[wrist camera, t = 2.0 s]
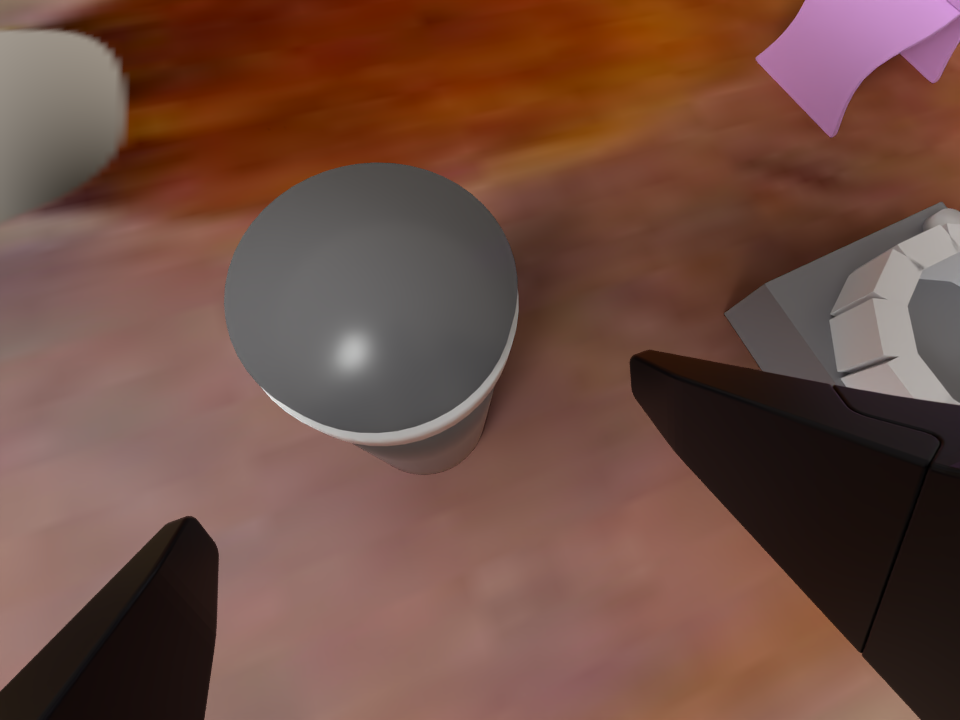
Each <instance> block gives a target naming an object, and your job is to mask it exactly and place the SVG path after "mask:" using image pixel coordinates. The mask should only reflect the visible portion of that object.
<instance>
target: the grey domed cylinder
mask: <svg viewBox="0 0 960 720" xmlns="http://www.w3.org/2000/svg"><path fill="white" fill-rule="evenodd" d="M224 307H225V317H226V324H227V328H228V332H229V336H230V339H231V342H232V344H233V346H234V349H235V351H236V353H237V356H238V357H239V359H240V360H241V362H242V364H243V365H244V367H245V368H246V370H247V372H248V373H249V374H250V375H251V376H252V377H253V379H254V380H255V381H256V382H257V383H258V384H259V386H261V388H262V389H263V390H264V391H265V392H266V393H267V395H268V396H269V397H270V398H271V399H272V400H273V401H274V402H275V403H276V404H277V405H279V406H280V407H281V408H282V409H283V410H284V411H286V412H287V413H289V414H290V415H292V416H293V417H295V418H296V419H298V420H300V421H301V422H303V423H305V424H307V425H309V426H311V427H312V428H314V429H316V430H318V431H320V432H322V433H325V434H327V435H329V436H331V437H334V438H336V439H340V440H343V441H346V442H350V443H352V444H354V445H356V446H358V447H360V448H361V449H363V450H365V451H367V452H368V453H370V454H372V455H374V456H376V457H377V458H379V459H381V460H383V461H384V462H386V463H388V464H390V465H391V466H393V467H395V468H397V469H399V470H402V471H404V472H408V473H412V474H418V475H428V474H436V473H440V472H443V471H446V470H448V469H451V468H452V467H454V466H456V465H458V464H459V463H460V462H462V461H463V460H464V459H465V458H466V457H467V456H468V455H469V454H470V453H471V452H472V451H473V449H474V448H475V446H476V445H477V443H478V441H479V439H480V437H481V434H482V431H483V428H484V424H485V420H486V417H487V413H488V409H489V406H490V402H491V399H492V395H493V391H494V388H495V384H496V382H497V381H498V379H499V377H500V376H501V373H502V371H503V369H504V367H505V364H506V362H507V359H508V356H509V352H510V349H511V346H512V343H513V339H514V335H515V332H516V328H517V320H518V313H519V302H518V289H517V273H516V266H515V261H514V257H513V254H512V251H511V248H510V245H509V243H508V241H507V238H506V236H505V234H504V232H503V230H502V229H501V227H500V226H499V224H498V222H497V221H496V219H495V218H494V217H493V215H492V214H491V213H490V212H489V211H488V210H487V208H486V207H485V206H484V205H483V204H482V203H481V202H480V201H479V200H478V199H476V198H475V197H474V196H473V195H472V194H471V193H469V192H468V191H467V190H465V189H464V188H462V187H461V186H459V185H458V184H456V183H454V182H452V181H451V180H449V179H447V178H445V177H443V176H441V175H438V174H435V173H433V172H430V171H428V170H424V169H420V168H417V167H413V166H408V165H401V164H394V163H364V164H355V165H349V166H344V167H339V168H336V169H332V170H329V171H325V172H323V173H320V174H318V175H315V176H313V177H310V178H308V179H306V180H304V181H302V182H301V183H299V184H297V185H295V186H293V187H291V188H290V189H289V190H287V191H286V192H284V193H283V194H281V195H280V196H279V197H277V198H276V199H275V200H274V201H273V202H272V203H270V204H269V205H268V206H267V207H266V208H265V209H264V210H263V211H262V212H261V213H260V214H259V215H258V217H257V218H256V219H255V220H254V221H253V222H252V224H251V225H250V227H249V228H248V229H247V231H246V232H245V234H244V235H243V237H242V239H241V241H240V243H239V245H238V246H237V248H236V250H235V252H234V255H233V258H232V261H231V264H230V266H229V269H228V274H227V279H226V284H225V298H224Z"/></svg>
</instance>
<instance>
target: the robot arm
mask: <svg viewBox="0 0 960 720" xmlns="http://www.w3.org/2000/svg"><path fill="white" fill-rule="evenodd" d="M630 374H631V387H632V392H633V395H634V397H635V399H636V400H637V401H638V403H639V404H640V406H641V407H642V408H643V410H644V411H645V412H646V414H647V415H648V416H649V418H650V419H651V421H652V422H653V423H654V425H655V426H656V427H657V429H658V430H659V431H660V433H661V434H662V436H663V437H664V438H665V440H666V441H667V442H668V444H669V445H670V446H671V448H672V449H673V450H674V451H675V453H676V454H677V455H678V456H679V457H680V458H681V459H682V461H683V462H684V463H685V464H686V465H687V466H688V467H689V468H690V469H691V470H692V471H693V472H694V474H695V475H696V476H697V477H698V478H699V479H700V480H701V481H702V482H703V483H704V484H705V485H706V487H707V488H708V489H709V490H710V491H711V492H712V493H713V494H714V495H715V496H716V497H717V499H718V500H719V501H720V502H721V503H722V504H723V505H724V506H725V507H726V508H727V509H728V510H729V512H730V513H731V514H732V515H733V516H734V517H735V518H736V519H737V520H738V521H739V522H740V523H741V525H742V526H743V527H744V528H745V529H746V530H747V531H748V532H749V533H750V534H751V535H752V537H753V538H754V539H755V540H756V541H757V542H758V543H759V544H760V545H761V546H762V547H763V548H764V550H765V551H766V552H767V553H768V554H769V555H770V556H771V557H772V558H773V559H774V560H775V561H776V563H777V564H778V565H779V566H780V567H781V568H782V569H783V570H784V571H785V572H786V573H787V574H788V576H789V577H790V578H791V579H792V580H793V581H794V582H795V583H796V584H797V585H798V586H799V588H800V589H801V590H802V591H803V592H804V593H805V594H806V595H807V596H808V597H809V598H810V599H811V601H812V602H813V603H814V604H815V605H816V606H817V607H818V608H819V609H820V610H821V611H822V612H823V614H824V615H825V616H826V617H827V618H828V619H829V620H830V621H831V622H832V623H833V624H834V626H835V627H836V628H837V629H838V630H839V631H840V632H841V633H842V634H843V635H844V636H845V637H846V639H847V640H848V641H849V642H850V643H851V644H852V645H853V646H854V647H855V648H856V649H857V650H858V651H859V652H860V653H862V656H863V657H864V659H865V660H866V661H867V662H868V663H869V664H870V665H871V666H872V667H873V668H874V669H875V671H876V672H877V673H878V674H879V675H880V676H881V677H882V678H883V679H884V680H885V681H886V682H887V684H888V685H889V686H890V687H891V688H892V689H893V690H894V691H895V692H896V693H897V694H898V695H899V697H900V698H901V699H902V700H903V701H904V702H905V703H906V704H907V705H908V706H909V707H910V708H911V710H912V711H913V712H914V713H915V714H916V715H917V716H918V717H919V718H920V719H921V720H960V405H956V404H949V403H942V402H935V401H928V400H922V399H915V398H908V397H901V396H895V395H889V394H883V393H878V392H872V391H866V390H860V389H855V388H850V387H845V386H839V385H833V386H831V384H828V383H823V382H818V381H813V380H807V379H802V378H797V377H791V376H786V375H781V374H775V373H770V372H765V371H760V370H754V369H749V368H744V367H738V366H733V365H728V364H723V363H717V362H712V361H707V360H701V359H696V358H691V357H686V356H680V355H675V354H670V353H664V352H659V351H654V350H646V351H643V352H641V353H638V354H635V355H633V356H632V357H631V359H630ZM218 566H219V553H218V549H217V546H216V544H215V542H214V541H213V540H212V538H211V537H210V536H209V534H208V533H207V532H206V530H205V529H204V528H203V527H202V525H201V524H200V523H199V521H198V520H197V519H196V518H194V517H192V516H186V517H183V518H180V519H178V520H175V521H172V522H169V523H168V524H166V525H165V526H164V527H163V528H162V529H161V530H160V531H159V532H158V533H157V534H156V535H155V536H154V537H153V538H152V539H151V540H150V541H149V542H148V543H147V544H146V545H145V546H144V547H143V548H142V549H141V550H140V551H139V552H138V553H137V554H136V555H135V556H134V557H133V558H132V559H131V560H130V561H129V562H128V563H127V564H126V565H125V566H124V567H123V568H122V569H121V570H120V571H119V572H118V573H117V574H116V575H115V576H114V577H113V578H112V579H111V580H110V581H109V582H108V583H107V584H106V585H105V586H104V587H103V588H102V589H101V590H100V591H99V592H98V593H97V594H96V595H95V596H94V597H93V598H92V599H91V600H90V601H89V602H88V603H87V604H86V605H85V606H84V607H83V608H82V609H81V610H80V611H79V612H78V613H77V614H76V615H75V617H74V618H73V619H72V620H71V621H70V622H69V623H68V624H67V625H66V626H65V627H64V628H63V629H62V630H61V631H60V632H59V633H58V634H57V635H56V636H55V637H54V638H53V639H52V640H51V641H50V642H49V643H48V644H47V645H46V646H45V647H44V648H43V649H42V650H41V651H40V652H39V653H38V654H37V655H36V656H35V657H34V658H33V659H32V660H31V661H30V662H29V663H28V664H27V665H26V666H25V667H24V668H23V669H22V670H21V671H20V672H19V673H18V674H17V675H16V676H15V677H14V678H13V679H12V680H11V681H10V682H9V683H8V684H7V685H6V686H5V687H4V688H3V689H2V690H1V691H0V720H204V718H205V711H206V704H207V697H208V690H209V683H210V676H211V669H212V662H213V655H214V648H215V639H216V628H217V600H218Z"/></svg>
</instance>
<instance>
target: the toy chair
mask: <svg viewBox="0 0 960 720" xmlns="http://www.w3.org/2000/svg"><path fill="white" fill-rule="evenodd" d="M959 42H960V0H805V1H804V3H803V5H802V7H801V9H800V10H799V12H798V14H797V16H796V17H795V19H794V20H793V21H792V23H791V24H790V25H789V27H788V28H787V29H786V30H785V31H784V32H783V33H782V34H781V36H780V37H779V38H778V39H777V40H776V41H775V42H773V43H772V44H771V45H770V46H769V47H768V48H767V49H765V50H764V51H763V52H762V53H760V54H759V55H758V56H757V57H756V61H757V62H758V63H759V64H760V65H761V66H762V67H763V68H764V69H765V70H766V72H767V73H768V74H769V75H770V76H771V77H772V78H773V79H774V80H775V81H776V82H777V83H778V84H779V85H780V86H781V87H782V88H783V89H784V90H785V91H786V92H787V93H788V94H789V95H790V96H791V97H792V99H793V100H794V101H795V102H796V103H797V104H798V105H799V106H800V107H801V108H802V109H803V110H804V111H805V112H806V113H807V114H808V115H809V116H810V117H811V118H812V119H813V120H814V121H815V122H816V123H817V124H818V126H819V127H820V128H821V129H822V130H823V131H824V132H825V133H826V134H827V135H828V136H829V137H834V136H836V135H837V133H838V130H839V127H840V124H841V121H842V118H843V116H844V113H845V111H846V108H847V106H848V104H849V102H850V100H851V98H852V96H853V94H854V92H855V91H856V89H857V88H858V87H859V85H860V84H861V83H862V81H863V80H864V79H865V78H866V77H867V76H868V75H869V74H870V73H872V72H873V71H874V70H875V69H876V68H877V67H879V66H880V65H882V64H883V63H885V62H886V61H888V60H889V59H891V58H892V57H894V56H896V55H898V54H899V53H900V54H901V55H902V56H903V57H904V58H905V59H906V60H907V61H908V62H909V63H910V64H911V65H913V66H914V67H915V68H916V69H917V70H918V71H919V72H920V73H921V74H922V75H923V76H924V77H926V78H927V79H928V80H929V81H930V82H931V83H935V82H937V81H938V80H939V79H940V77H941V75H942V73H943V71H944V69H945V67H946V65H947V63H948V61H949V59H950V57H951V55H952V53H953V51H954V50H955V48H956V47H957V45H958V44H959Z"/></svg>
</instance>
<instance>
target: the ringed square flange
mask: <svg viewBox="0 0 960 720" xmlns="http://www.w3.org/2000/svg"><path fill="white" fill-rule="evenodd" d="M724 314H725V316H726V317H727V319H728V320H729V322H730V323H731V325H732V326H733V328H734V329H735V331H736V332H737V334H738V335H739V337H740V338H741V340H742V341H743V343H744V344H745V346H746V347H747V349H748V350H749V352H750V353H751V355H752V356H753V358H754V359H755V361H756V362H757V364H758V365H759V367H760V368H761V370H762V371H765V372H770V373H775V374H781V375H786V376H791V377H797V378H802V379H807V380H813V381H818V382H823V383H828V384H831V386H833V385H839V386H845V387H850V388H855V389H860V390H866V391H872V392H878V393H883V394H889V395H895V396H901V397H908V398H915V399H922V400H928V401H935V402H942V403H949V404H956V405H960V212H959V211H957V210H955V209H950V208H947V207H946V206H945V205H944V204H943V202H940V203H938V204H935V205H933V206H931V207H929V208H927V209H925V210H922V211H920V212H918V213H916V214H914V215H912V216H909V217H907V218H905V219H903V220H901V221H899V222H897V223H894V224H892V225H890V226H888V227H886V228H884V229H881V230H879V231H877V232H875V233H873V234H871V235H868V236H866V237H864V238H862V239H860V240H858V241H856V242H853V243H851V244H849V245H847V246H845V247H843V248H840V249H838V250H836V251H834V252H832V253H830V254H827V255H825V256H823V257H821V258H819V259H817V260H814V261H812V262H810V263H808V264H806V265H804V266H802V267H799V268H797V269H795V270H793V271H791V272H789V273H786V274H784V275H782V276H780V277H778V278H776V279H773V280H771V281H769V282H767V283H765V284H763V285H762V286H761V287H759V288H758V289H757V290H755V291H754V292H752V293H751V294H750V295H748V296H747V297H746V298H744V299H743V300H742V301H740V302H739V303H737V304H736V305H735V306H733V307H732V308H731V309H729V310H728V311H727V312H725V313H724Z"/></svg>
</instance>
